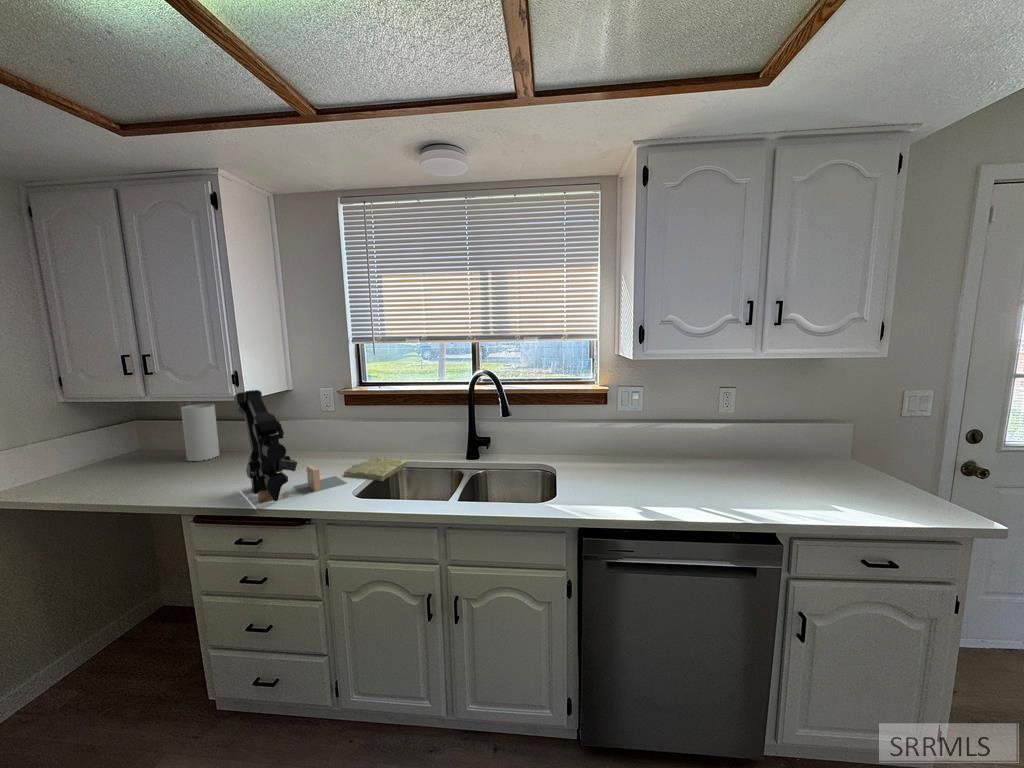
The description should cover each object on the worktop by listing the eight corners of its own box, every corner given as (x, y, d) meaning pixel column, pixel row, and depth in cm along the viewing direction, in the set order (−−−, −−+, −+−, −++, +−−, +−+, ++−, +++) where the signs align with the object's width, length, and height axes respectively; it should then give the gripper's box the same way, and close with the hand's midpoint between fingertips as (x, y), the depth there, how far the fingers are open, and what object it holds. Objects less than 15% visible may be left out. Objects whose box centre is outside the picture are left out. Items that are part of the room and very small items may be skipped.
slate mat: (303, 496, 149) (303, 494, 149) (293, 487, 157) (292, 486, 157) (347, 484, 160) (347, 483, 160) (335, 477, 168) (335, 475, 168)
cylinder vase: (204, 453, 203) (198, 403, 200) (226, 454, 201) (221, 404, 198) (179, 461, 191) (173, 408, 188) (203, 462, 189) (197, 408, 186)
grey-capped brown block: (261, 505, 141) (260, 494, 140) (257, 501, 144) (256, 490, 144) (293, 497, 148) (292, 486, 147) (289, 493, 151) (288, 483, 151)
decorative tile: (407, 466, 183) (407, 458, 182) (382, 482, 163) (382, 473, 163) (370, 463, 187) (369, 455, 187) (341, 478, 168) (341, 470, 167)
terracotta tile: (314, 491, 152) (313, 470, 151) (308, 486, 157) (306, 466, 156) (320, 489, 153) (319, 469, 152) (314, 485, 158) (312, 464, 157)
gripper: (302, 455, 142) (305, 498, 144) (285, 444, 155) (289, 484, 157) (266, 462, 134) (270, 508, 136) (251, 451, 148) (255, 492, 150)
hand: (272, 497), depth 145 cm, fingers open, 8 cm apart
